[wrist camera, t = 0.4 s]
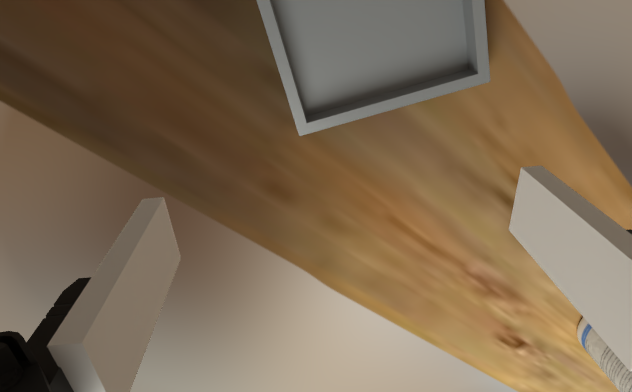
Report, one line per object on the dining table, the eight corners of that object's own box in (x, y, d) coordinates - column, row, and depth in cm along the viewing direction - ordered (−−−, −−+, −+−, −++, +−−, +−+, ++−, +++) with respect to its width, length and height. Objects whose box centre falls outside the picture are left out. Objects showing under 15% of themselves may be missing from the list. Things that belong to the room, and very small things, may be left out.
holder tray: (234, -82, 33) (229, -88, 30) (456, -157, 31) (472, -170, 28) (298, 126, 41) (299, 136, 38) (477, 74, 39) (490, 81, 37)
